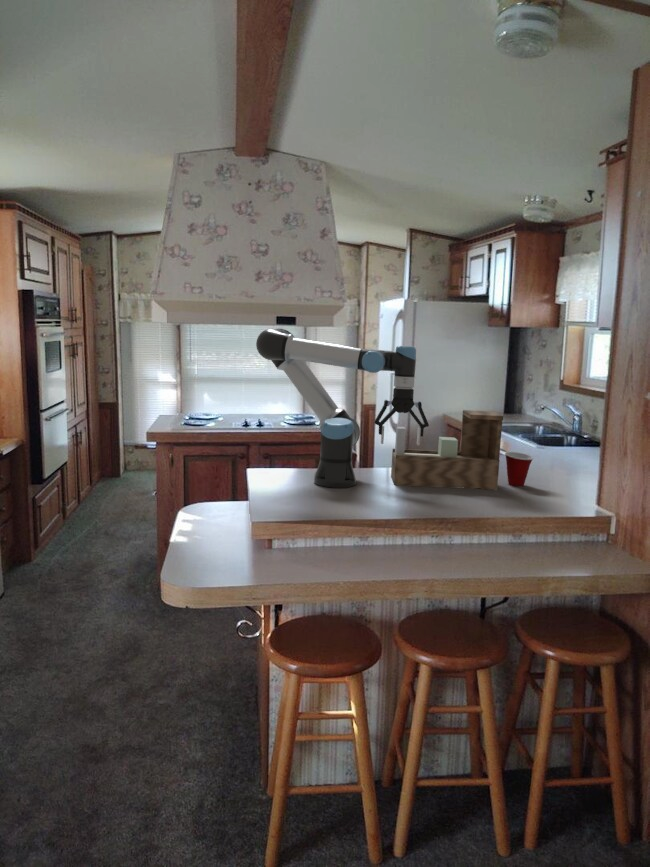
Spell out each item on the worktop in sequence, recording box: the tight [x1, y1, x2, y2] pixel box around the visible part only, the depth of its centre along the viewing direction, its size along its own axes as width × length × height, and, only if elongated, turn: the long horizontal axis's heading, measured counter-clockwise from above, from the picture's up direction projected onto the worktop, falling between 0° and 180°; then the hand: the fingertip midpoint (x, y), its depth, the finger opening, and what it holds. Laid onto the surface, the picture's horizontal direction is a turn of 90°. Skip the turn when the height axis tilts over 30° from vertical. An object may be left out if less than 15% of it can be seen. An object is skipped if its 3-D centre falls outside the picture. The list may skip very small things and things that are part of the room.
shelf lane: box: [390, 409, 504, 490], centre depth 249 cm, size 38×14×28 cm, turn 89°
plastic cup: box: [504, 451, 535, 487], centre depth 253 cm, size 11×11×12 cm
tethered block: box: [394, 426, 459, 458], centre depth 249 cm, size 22×7×10 cm, turn 89°
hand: (400, 444), depth 249 cm, fingers open, 13 cm apart
